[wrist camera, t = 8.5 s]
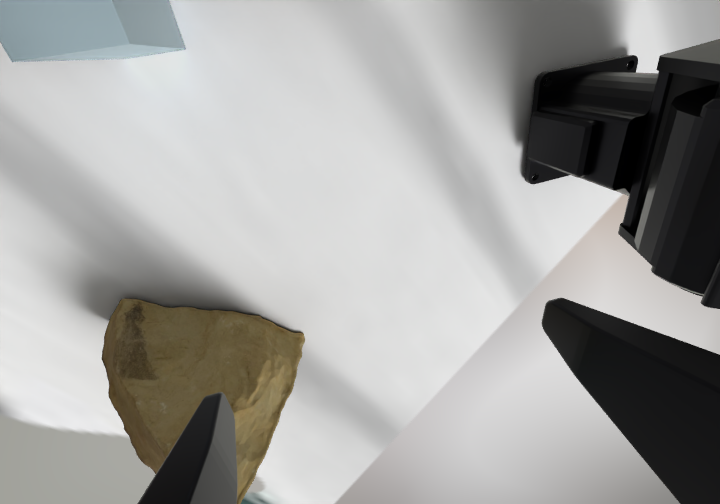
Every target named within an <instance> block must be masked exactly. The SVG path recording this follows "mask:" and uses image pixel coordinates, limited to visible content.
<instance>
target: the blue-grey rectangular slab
mask: <svg viewBox="0 0 720 504" xmlns="http://www.w3.org/2000/svg"><path fill="white" fill-rule="evenodd" d="M0 42H1V44H2V46H3V48H4V49H5V51H6V53H7V54H8V56H9V58H10V59H11V61H12V62H27V61H65V60H104V59H127V58H134V57H140V56H146V55H153V54H159V53H165V52H172V51H178V50H185V49H186V48H185V45H184V42H183V39H182V36H181V34H180V31H179V28H178V25H177V22H176V19H175V16H174V14H173V11H172V8H171V5H170V2H169V0H0Z"/></svg>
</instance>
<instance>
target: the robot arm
mask: <svg viewBox="0 0 720 504" xmlns="http://www.w3.org/2000/svg"><path fill="white" fill-rule="evenodd" d="M627 64H628V65H627ZM637 64H638V58H637V57H636V56H634V55H626V56H621V57H616V58H611V59H606V60H601V61H596V62H591V63H586V64H581V65H576V66H571V67H566V68H561V69H557V70H552V71H547V72H543V73H541V74H540V75H539V76H538V77H537V79H536V81H535V87H534V96H533V105H532V114H531V122H530V131H529V140H528V149H527V158H526V167H525V176H524V177H525V181H526V182H528V183H530V184H537V183H541V182H545V181H549V180H553V179H556V178H560V177H564V176H568V175H572V176H575V177H579V178H582V179H585V180H587V181H590V182H593V183H595V184H598V185H601V186H603V187H606V188H609V189H611V190H615V191H617V192H620V193H623V194H625V195H629V199H628V203H627V207H626V212H625V215H624V220H623V223H621V224H620V227H619V232H618V233H619V235H620V236H622V237H623V238H624V239H625V240H626V241H627V242H628V243H629V244H630V245H631V246H632V247H633V248H634V249H635V250H637V252H638V253H639V254H640V255H641V256H643V257H644V258H645V259H646V260H647V261H648V262H649V263H650V264H651V265H652V268H651V271H652V272H653V273H654V274H655V275H656V276H658V277H659V278H661V279H663V280H665V281H667V282H669V283H671V284H672V285H675V286H677V287H679V288H681V289H683V290H685V291H688V292H690V293H693V294H696V295H699V296H703V298H702V300H701V304H703V305H704V306H706V307H710V308H717V309H720V39H718V40H715V41H711V42H707V43H704V44H700V45H696V46H693V47H689V48H685V49H682V50H678V51H675V52H671V53H667V54H664V55H660V58H659V62H658V66H657V70H658V71H659V73H658V74H655V73H635V72H636V68H637ZM545 79H546V80H547V81H546V84H545V85H544V80H545ZM534 174H535V175H534ZM533 175H534V177H533V178H532V176H533ZM542 327H543V329H544V331H545V333H546V334H547V336H548V337H549V339H550V340H551V341H552V343H553V344H554V346H555V347H556V348H557V350H558V352H559V353H560V355H561V356H562V358H563V359H564V361H565V362H566V363H567V365H568V366H569V368H570V369H571V371H572V372H573V373H574V375H575V376H576V378H577V379H578V380H579V381H580V383H581V384H582V385H583V386H584V387H585V389H586V390H587V391H588V392H589V394H590V395H591V396H592V397H593V398H594V400H595V401H596V402H597V403H598V405H599V406H600V407H601V408H602V409H603V411H604V412H605V413H606V414H607V415H608V417H609V418H610V419H611V420H612V421H613V423H614V424H615V425H616V426H617V427H618V429H619V430H620V431H621V432H622V434H623V435H624V436H625V437H626V438H627V440H628V441H629V442H630V443H631V444H632V446H633V447H634V448H635V449H636V450H637V452H638V453H639V454H640V455H641V457H642V458H643V459H644V460H645V461H646V463H647V464H648V465H649V466H650V467H651V469H652V470H653V471H654V472H655V474H656V475H657V476H658V477H659V478H660V480H661V481H662V482H663V483H664V484H665V486H666V487H667V488H668V489H669V490H670V492H671V493H672V494H673V495H674V496H675V498H676V499H677V500H678V501H679V503H680V504H720V355H719V354H716V353H713V352H710V351H708V350H705V349H702V348H699V347H697V346H694V345H691V344H688V343H686V342H683V341H680V340H677V339H675V338H672V337H669V336H666V335H663V334H661V333H658V332H655V331H652V330H650V329H647V328H644V327H641V326H638V325H636V324H633V323H630V322H628V321H625V320H622V319H619V318H617V317H614V316H611V315H608V314H606V313H603V312H600V311H597V310H594V309H591V308H589V307H586V306H583V305H581V304H578V303H575V302H573V301H570V300H567V299H564V298H557V299H554V300H550V301H548V302H547V303H546V306H545V310H544V314H543V319H542ZM237 486H238V483H237V457H236V435H235V418H234V413H233V411H232V409H231V406H230V404H229V402H228V400H227V398H226V396H225V394H224V393H223V392H218V393H214V394H210V395H207V396H205V397H204V398H203V400H202V401H201V403H200V404H199V406H198V408H197V409H196V411H195V412H194V414H193V416H192V417H191V419H190V420H189V422H188V424H187V425H186V427H185V428H184V430H183V432H182V433H181V435H180V437H179V438H178V440H177V441H176V443H175V445H174V446H173V448H172V449H171V451H170V453H169V454H168V456H167V457H166V459H165V461H164V462H163V464H162V465H161V467H160V469H159V470H158V472H157V473H156V475H155V477H154V478H153V480H152V482H151V483H150V485H149V486H148V488H147V489H146V491H145V493H144V494H143V496H142V498H141V499H140V501H139V502H138V504H237Z"/></svg>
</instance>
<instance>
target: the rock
mask: <svg viewBox="0 0 720 504" xmlns="http://www.w3.org/2000/svg"><path fill="white" fill-rule="evenodd" d="M304 342H305V338H304V334H303V333H292V332H290V331H288V330H286V329H284V328H282V327H278V326H276V324H274V323H273V322H270V321H268V320H265V319H262V317H261V316H255V315H246V314H242V313H237V312H234V311H221V310H211V311H208V310H198V309H196V308H193V307H177V308H167V307H163V306H159V305H157V304H154V303H148V302H145V301H143V300H139V299H121V301H120V302H119V304H118V306H117V308H116V309H115V311H114V313H113V314H112V316H111V318H110V320H109V323H108V326H107V329H106V333H105V336H104V347H103V351H102V361H103V363H104V366H105V368H106V372H107V377H108V380H109V398H110V400H111V402H112V404H113V406H114V408H115V409H116V411H117V412H118V415H119V416H120V418H121V420H122V422H123V424H124V429H125V431H126V433H127V434H128V435H129V437H130V440H131V443H132V445H133V447H134V448H135V450H136V453H137V455H138V457H139V458H140V460H141V461H142V462H143V463H144V464H145V465H147V466H148V467H150V468H151V469H152V470H153V471H154V472H155V474H156V473H157V472H158V470H159V469H160V467H161V465H162V464H163V462H164V461H165V459H166V457H167V456H168V454H169V453H170V451H171V449H172V448H173V446H174V445H175V443H176V441H177V440H178V438H179V437H180V435H181V433H182V432H183V430H184V428H185V427H186V425H187V424H188V422H189V420H190V419H191V417H192V416H193V414H194V412H195V411H196V409H197V408H198V406H199V404H200V403H201V401H202V400H203V398H204V397H205V396H207V395H210V394H214V393H218V392H223V393H224V394H225V396H226V398H227V400H228V402H229V404H230V406H231V409H232V411H233V413H234V418H235V435H236V457H237V483H238V486H237V504H240V503H241V501H242V500H243V498H244V496H245V494H246V492H247V490H248V489H249V487H250V485H251V484H252V482H253V481H254V478H255V476H256V472H257V470H258V468H259V466H260V464H261V463H262V461H263V459H264V457H265V455H266V452H267V450H268V447H269V445H270V442H271V439H272V436H273V433H274V431H275V428H276V426H277V424H278V422H279V418H280V414H281V411H282V409H283V408H284V405H285V402H286V400H287V398H288V397H289V395H290V394H291V392H292V389H293V386H294V381H295V378H296V374H297V367H298V363H299V361H300V359H301V357H302V346H303V344H304Z"/></svg>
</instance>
